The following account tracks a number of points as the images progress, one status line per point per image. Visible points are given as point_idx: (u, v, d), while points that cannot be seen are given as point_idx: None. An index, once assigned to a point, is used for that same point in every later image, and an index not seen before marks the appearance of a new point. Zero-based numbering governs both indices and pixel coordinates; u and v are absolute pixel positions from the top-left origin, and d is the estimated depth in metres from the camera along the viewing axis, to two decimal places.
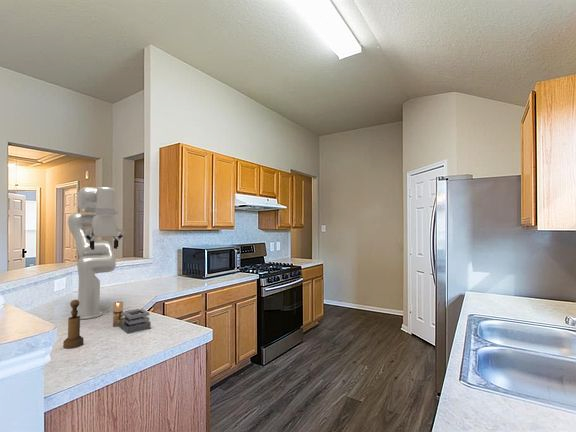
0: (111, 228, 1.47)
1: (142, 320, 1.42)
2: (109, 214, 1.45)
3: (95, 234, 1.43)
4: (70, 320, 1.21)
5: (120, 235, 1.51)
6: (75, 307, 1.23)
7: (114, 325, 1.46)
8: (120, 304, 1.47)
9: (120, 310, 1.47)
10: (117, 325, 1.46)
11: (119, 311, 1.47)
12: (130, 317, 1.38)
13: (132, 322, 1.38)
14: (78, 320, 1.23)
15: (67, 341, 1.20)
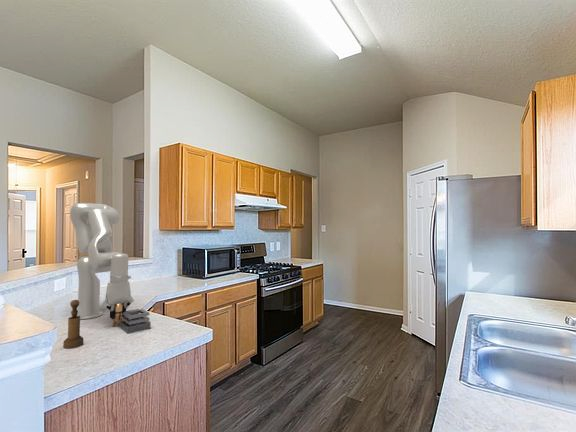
0: (125, 294, 1.48)
1: (142, 320, 1.42)
2: (123, 281, 1.46)
3: (109, 302, 1.44)
4: (70, 320, 1.21)
5: (128, 303, 1.50)
6: (75, 307, 1.23)
7: (114, 325, 1.46)
8: (120, 304, 1.47)
9: (120, 310, 1.47)
10: (117, 325, 1.46)
11: (119, 311, 1.47)
12: (130, 317, 1.38)
13: (132, 322, 1.38)
14: (78, 320, 1.23)
15: (67, 341, 1.20)
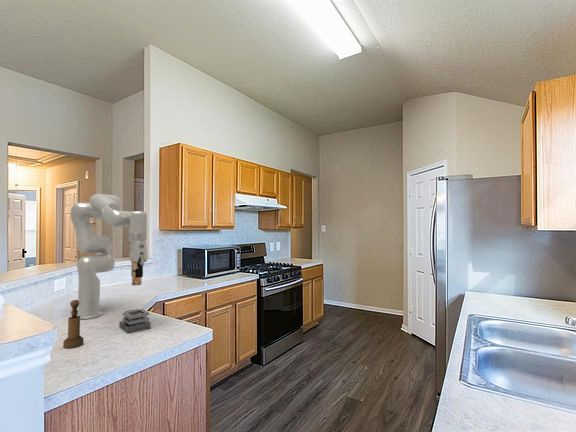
0: (133, 253, 1.41)
1: (142, 320, 1.42)
2: (130, 239, 1.42)
3: (129, 258, 1.46)
4: (70, 320, 1.21)
5: None
6: (75, 307, 1.23)
7: None
8: (133, 262, 1.43)
9: (133, 269, 1.43)
10: (132, 283, 1.43)
11: (132, 269, 1.43)
12: (130, 317, 1.38)
13: (132, 322, 1.38)
14: (78, 320, 1.23)
15: (67, 341, 1.20)
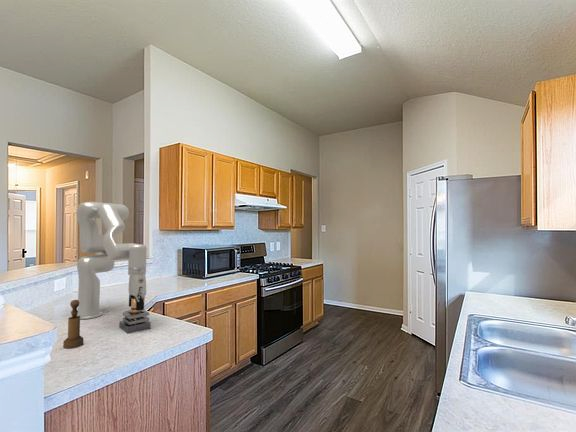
0: (133, 288, 1.41)
1: (142, 320, 1.42)
2: (129, 273, 1.41)
3: None
4: (70, 320, 1.21)
5: (140, 296, 1.39)
6: (75, 307, 1.23)
7: None
8: (132, 300, 1.42)
9: (131, 306, 1.42)
10: None
11: (131, 307, 1.42)
12: (130, 317, 1.38)
13: (132, 322, 1.38)
14: (78, 320, 1.23)
15: (67, 341, 1.20)
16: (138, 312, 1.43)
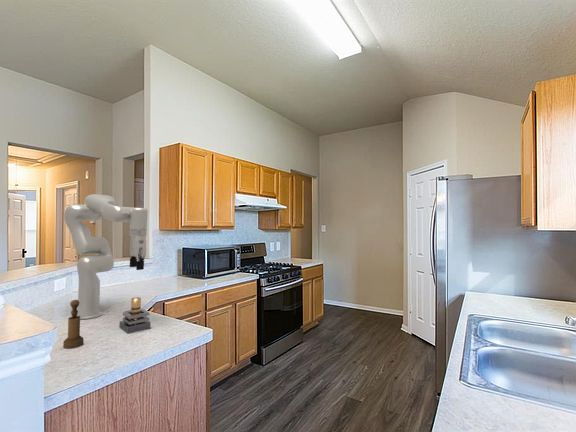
0: (133, 248, 1.47)
1: (142, 320, 1.42)
2: (130, 234, 1.47)
3: (130, 253, 1.52)
4: (70, 320, 1.21)
5: (140, 256, 1.45)
6: (75, 307, 1.23)
7: None
8: (132, 300, 1.42)
9: (131, 306, 1.42)
10: None
11: (131, 307, 1.42)
12: (130, 317, 1.38)
13: (132, 322, 1.38)
14: (78, 320, 1.23)
15: (67, 341, 1.20)
16: (138, 312, 1.43)
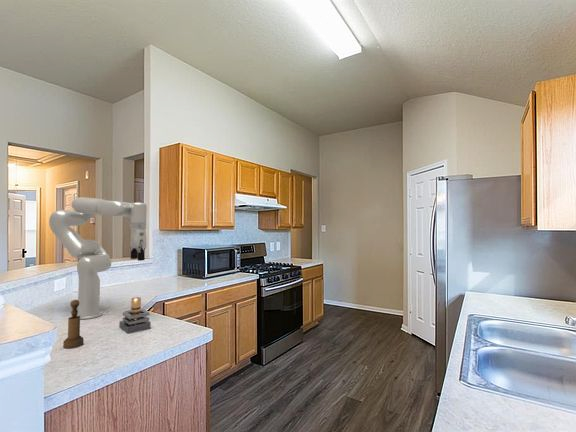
0: (134, 240, 1.56)
1: (142, 320, 1.42)
2: (131, 227, 1.57)
3: None
4: (70, 320, 1.21)
5: (140, 248, 1.54)
6: (75, 307, 1.23)
7: None
8: (132, 300, 1.42)
9: (132, 306, 1.42)
10: None
11: (131, 307, 1.42)
12: (130, 317, 1.38)
13: (132, 322, 1.38)
14: (78, 320, 1.23)
15: (67, 341, 1.20)
16: (138, 312, 1.43)
